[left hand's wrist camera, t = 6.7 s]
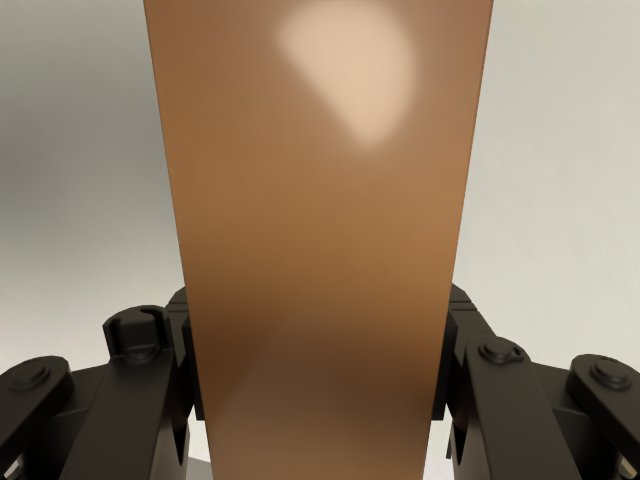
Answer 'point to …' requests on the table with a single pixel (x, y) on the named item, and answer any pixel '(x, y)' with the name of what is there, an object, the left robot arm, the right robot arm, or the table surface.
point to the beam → (318, 219)
